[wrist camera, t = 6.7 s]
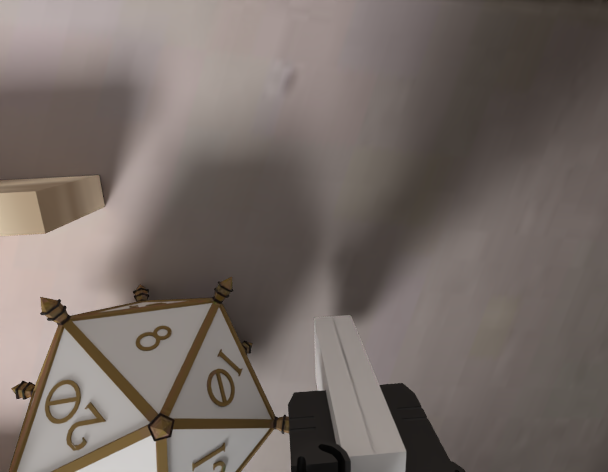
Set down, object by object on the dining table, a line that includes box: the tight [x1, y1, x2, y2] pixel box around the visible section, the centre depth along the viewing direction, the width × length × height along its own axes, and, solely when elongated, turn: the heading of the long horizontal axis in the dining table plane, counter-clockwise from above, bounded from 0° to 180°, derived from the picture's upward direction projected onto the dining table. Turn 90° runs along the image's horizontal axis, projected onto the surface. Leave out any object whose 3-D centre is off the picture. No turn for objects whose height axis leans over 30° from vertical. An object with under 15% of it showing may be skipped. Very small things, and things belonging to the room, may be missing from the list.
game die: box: [9, 277, 290, 472], centre depth 13 cm, size 9×8×10 cm
